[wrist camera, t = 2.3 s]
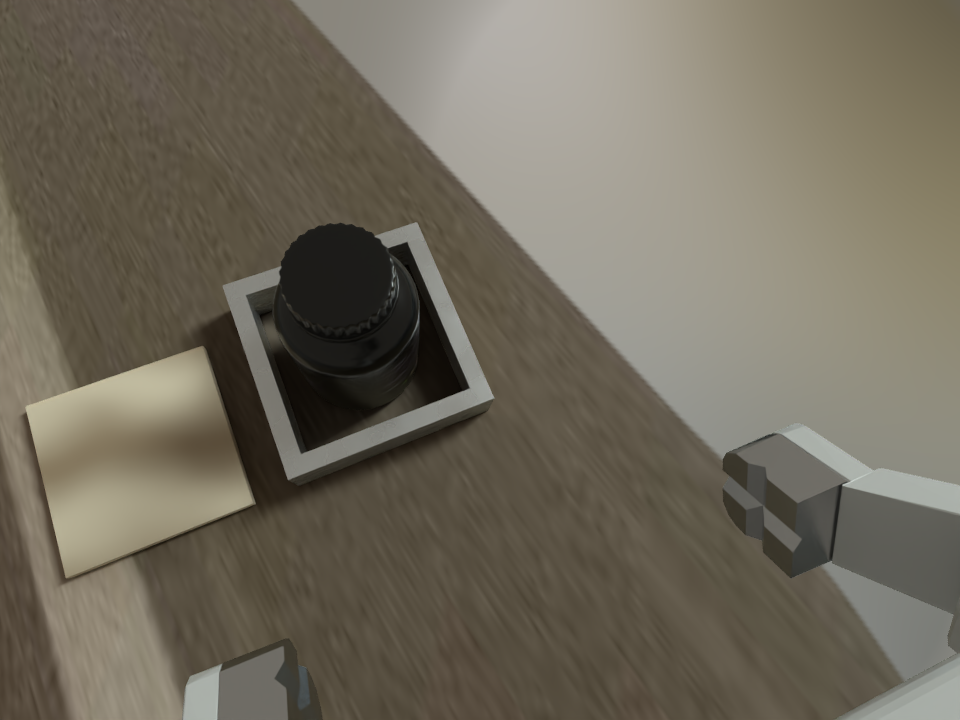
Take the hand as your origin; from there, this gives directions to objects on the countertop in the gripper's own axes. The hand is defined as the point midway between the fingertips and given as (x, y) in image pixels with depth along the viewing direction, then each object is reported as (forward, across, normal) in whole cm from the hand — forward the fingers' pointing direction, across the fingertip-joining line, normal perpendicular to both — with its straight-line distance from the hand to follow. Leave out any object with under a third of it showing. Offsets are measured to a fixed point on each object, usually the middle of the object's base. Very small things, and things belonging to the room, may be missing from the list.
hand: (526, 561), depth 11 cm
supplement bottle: (+26, +1, +8) cm, 27 cm away
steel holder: (+26, +1, +8) cm, 27 cm away
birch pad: (+25, +14, +9) cm, 30 cm away
